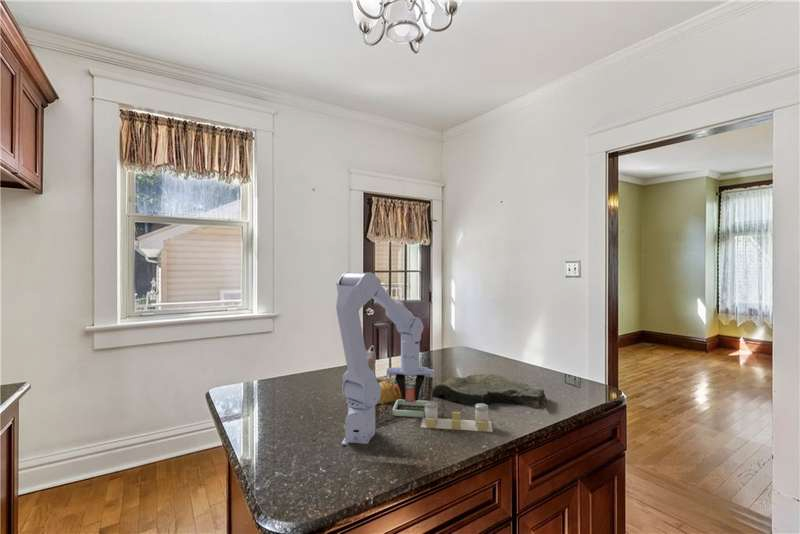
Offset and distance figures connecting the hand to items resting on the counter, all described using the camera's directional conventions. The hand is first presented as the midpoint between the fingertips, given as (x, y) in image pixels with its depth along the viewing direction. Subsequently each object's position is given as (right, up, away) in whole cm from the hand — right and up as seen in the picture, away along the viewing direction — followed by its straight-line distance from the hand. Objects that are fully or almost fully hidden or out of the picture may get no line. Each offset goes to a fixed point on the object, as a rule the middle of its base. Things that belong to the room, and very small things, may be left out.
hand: (410, 399), depth 116 cm
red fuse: (0, -1, 0) cm, 1 cm away
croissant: (-9, -5, +11) cm, 15 cm away
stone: (+26, -5, +12) cm, 29 cm away
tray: (0, -5, 0) cm, 4 cm away
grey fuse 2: (+19, -4, -11) cm, 23 cm away
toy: (-16, -4, +31) cm, 35 cm away
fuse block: (+13, -5, -10) cm, 17 cm away
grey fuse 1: (+6, -4, -9) cm, 11 cm away
